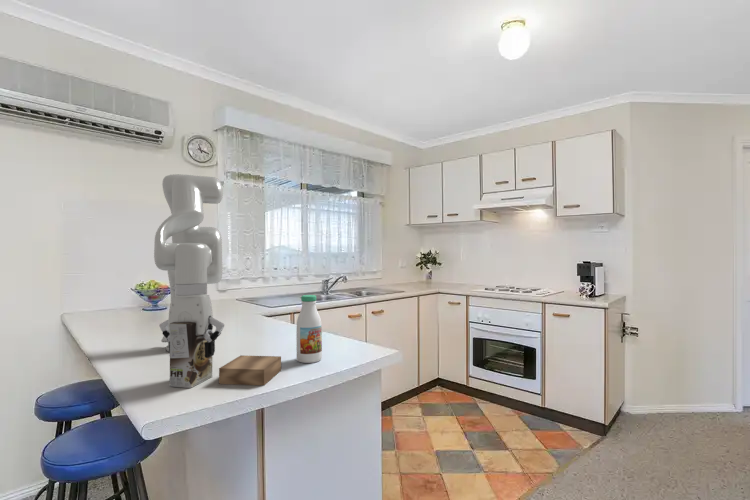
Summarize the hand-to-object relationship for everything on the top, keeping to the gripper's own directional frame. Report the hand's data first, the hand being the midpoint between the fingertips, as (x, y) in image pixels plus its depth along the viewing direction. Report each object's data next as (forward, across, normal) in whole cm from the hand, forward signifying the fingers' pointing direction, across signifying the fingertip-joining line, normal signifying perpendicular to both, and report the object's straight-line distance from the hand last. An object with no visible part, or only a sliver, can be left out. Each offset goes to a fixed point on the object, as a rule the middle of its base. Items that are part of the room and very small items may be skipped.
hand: (192, 356), depth 101 cm
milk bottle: (+7, +25, +22) cm, 34 cm away
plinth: (+7, +14, +5) cm, 16 cm away
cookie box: (+7, 0, 0) cm, 7 cm away
